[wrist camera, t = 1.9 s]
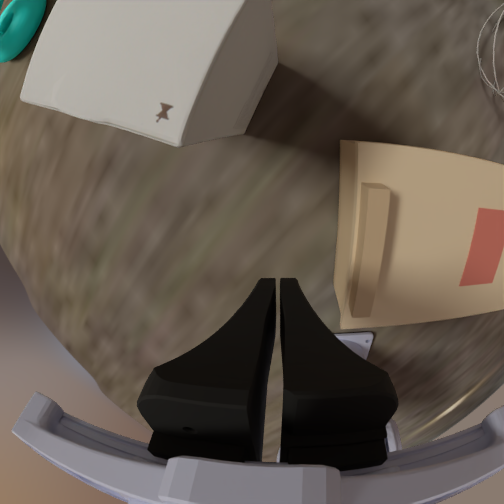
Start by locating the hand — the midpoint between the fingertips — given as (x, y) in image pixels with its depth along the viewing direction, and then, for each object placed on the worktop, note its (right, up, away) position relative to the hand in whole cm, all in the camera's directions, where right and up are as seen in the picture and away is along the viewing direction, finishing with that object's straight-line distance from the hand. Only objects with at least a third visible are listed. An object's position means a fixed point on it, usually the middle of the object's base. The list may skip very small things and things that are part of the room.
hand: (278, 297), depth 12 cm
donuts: (-28, +29, +1) cm, 40 cm away
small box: (-4, +15, +5) cm, 16 cm away
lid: (+14, +2, +3) cm, 14 cm away
